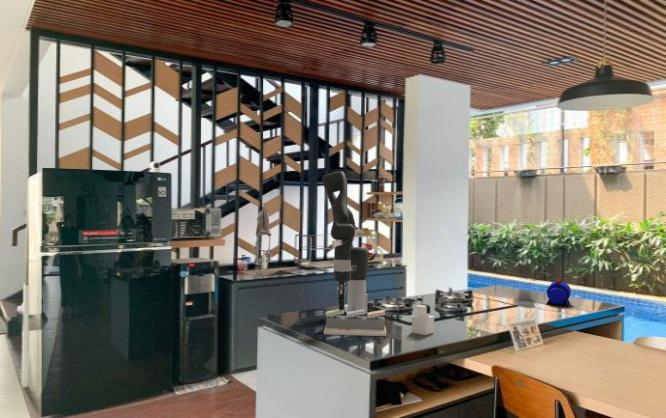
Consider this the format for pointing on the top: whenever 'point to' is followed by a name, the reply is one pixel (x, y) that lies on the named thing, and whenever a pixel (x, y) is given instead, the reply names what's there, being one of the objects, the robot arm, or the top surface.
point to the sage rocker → (334, 313)
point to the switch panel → (354, 332)
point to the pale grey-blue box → (355, 313)
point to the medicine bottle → (423, 320)
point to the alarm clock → (559, 293)
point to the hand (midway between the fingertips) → (341, 309)
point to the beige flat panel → (376, 314)
